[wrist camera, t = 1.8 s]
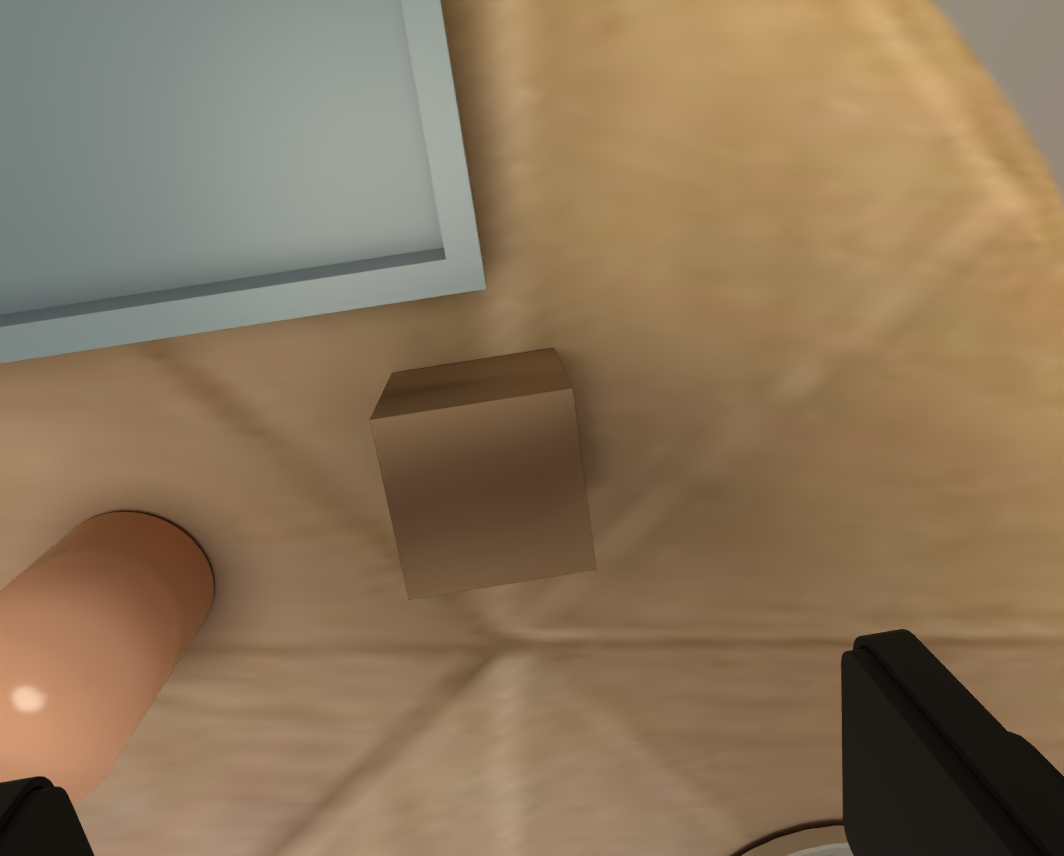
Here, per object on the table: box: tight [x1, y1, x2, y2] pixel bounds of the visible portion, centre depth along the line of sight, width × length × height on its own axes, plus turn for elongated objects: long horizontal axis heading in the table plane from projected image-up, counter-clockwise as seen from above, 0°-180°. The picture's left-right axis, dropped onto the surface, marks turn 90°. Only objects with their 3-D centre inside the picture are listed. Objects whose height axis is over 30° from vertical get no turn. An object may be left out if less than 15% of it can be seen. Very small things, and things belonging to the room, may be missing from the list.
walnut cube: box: [370, 348, 596, 600], centre depth 22 cm, size 5×5×5 cm
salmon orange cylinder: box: [0, 512, 214, 804], centre depth 21 cm, size 5×5×7 cm
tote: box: [0, 0, 486, 363], centre depth 18 cm, size 14×18×5 cm
